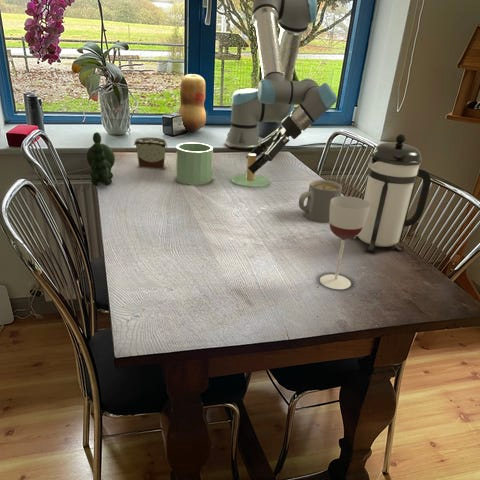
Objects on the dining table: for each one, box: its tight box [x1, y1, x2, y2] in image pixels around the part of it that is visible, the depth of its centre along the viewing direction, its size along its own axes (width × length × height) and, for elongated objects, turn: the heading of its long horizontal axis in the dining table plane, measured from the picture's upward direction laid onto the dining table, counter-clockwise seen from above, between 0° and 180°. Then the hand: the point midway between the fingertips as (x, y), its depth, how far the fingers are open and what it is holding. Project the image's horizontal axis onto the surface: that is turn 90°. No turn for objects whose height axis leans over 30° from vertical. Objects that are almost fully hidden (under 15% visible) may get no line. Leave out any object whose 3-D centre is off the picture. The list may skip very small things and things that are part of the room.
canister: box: [175, 142, 214, 186], centre depth 177 cm, size 13×13×12 cm
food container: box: [133, 136, 168, 170], centre depth 188 cm, size 12×6×10 cm, turn 84°
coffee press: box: [351, 134, 432, 254], centre depth 134 cm, size 17×16×30 cm
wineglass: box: [319, 195, 370, 290], centre depth 115 cm, size 8×9×20 cm
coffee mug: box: [298, 179, 343, 223], centre depth 154 cm, size 13×10×10 cm
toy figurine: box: [86, 131, 116, 186], centre depth 168 cm, size 9×19×25 cm
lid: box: [230, 152, 270, 188], centre depth 178 cm, size 14×14×10 cm
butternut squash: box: [177, 73, 207, 132], centre depth 236 cm, size 14×13×25 cm
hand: (249, 165), depth 177 cm, fingers open, 13 cm apart
